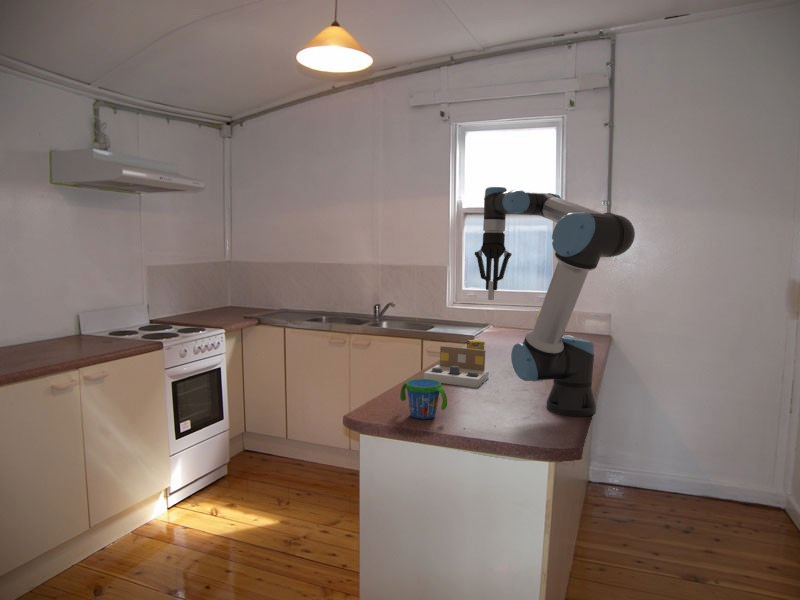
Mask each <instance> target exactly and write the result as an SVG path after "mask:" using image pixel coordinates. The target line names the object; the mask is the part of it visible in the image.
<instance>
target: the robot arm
mask: <svg viewBox="0 0 800 600" xmlns="http://www.w3.org/2000/svg"><path fill="white" fill-rule="evenodd" d="M483 201H484V202H483V205H484V206H483V207H484V208H483V225H482V227H483V229H482V231H484V232H483V234H482V245H481V247H480V249H479V250H478V251H475V252H474V256H475V258H476V260H477V263H478V264H477V265H478V271H479V275H480V278H481V279H482V280H485V290H486V291H488V292H487V293H488V294H487V300H488V301H493V300H495V291H497V290H498V281H501V280H504V277H505V274H506V268H507V265H508V262H509V259H510V258H511V256H512V252H510V251H508V250H507V249H506V248H507V247H506V246H505V239H506V237H505V236H506V235H505V233H504V232H506V221H507V220H506V218H507V217H506V215H526V216H537V217H543V218H545V219H548V220H550V221H552V222H555V223H556V224H555V226H554V229H553V230H552V235H551V239H552V240H553V241H552V242H551V245H552V248H553V250H554V252H555V253H554V256H555V257H554V258H556V260H557V264H556V267H555V269H554V272H553V275H552V278H551V280H550V283H549V286H548V289H547V291H546V293H545V297H544V299H543V302H542V304H541V308H540V309H541V310H540V309H539V310H540V313H539V316H538V318H537V321H536V324H535V323H534V327H533V329H532V330H529V331H528V332H526V334H525V336H524V340H523V342H520V341H519V342H518V343H515V344H514V345H513V347H512V349H511V353H510V354H511V356H510V357H511V358H510V359H511V365H512V367H513V371H514V372H515V374H516V376H517V377H518V378H519V379H520V380H522V381H525V382H537V381H546V380H548V381H549V380H550V381H551V380H553V383H552V387H551V389H550V392H549V394H548V396H547V399H546V409H547V410H548V411H550V412H552V413H555V414H558V413H559V414H558V415H562V414H564V415H563V416H567V415H570V416H569V417H578V416H583V417H590V416H591V417H592V416H594V415H596V414H597V403H596V399H595V396H594V391H593V387H592V386H593V385H592V383H593V372H594V371H593V370H594V361H595V359H594V358H595V347H594V345H595V344H594V343H593V342H592V341H590V340H588V339H585V338H584V339H583V338H577V337H576V338H573V337H567V335H564V334H565V332H566V329H567V328H568V327H567V326H568V324H569V322H570V319H571V317H572V314H573V311H574V309H575V306H576V304H577V301H578V299H579V296H580V293H581V291H582V290H583V289H582V288H583V286H584V284H585V282H586V278H587V276H588V273H589V272H590V271H594V270H596V269H597V267H598V264H599V262H600V260H601V258H610V257H611V258H612V257H614V258H615V257H618V256H620V255H622V254H624V253H626V252H628V250H629V249H631V247H632V245H633V243H634V240H635V238H636V237H635V236H636V232H635V227H634V225H633V224H632V221H630V220H629V219H628V218H627V217H625V216H623V215H620V214H616V213H613V212H604V213H603V212H599V211H596V210H594V209H590V208H588V207H585V206H583V205H579V204H577V203H574V202H572V201H568V200H565V199H563V198H561V196H560V195H559V194H556V193H551V192H548V193H546V192H545V193H544V192H531V191H524V190H522V189H513V190H509V191H507V188H506V187H504V186H488V187H486V188H485V191H484V198H483ZM483 255H484V257H485V258H486V269H485V265H484V261H483V257H482V256H483ZM502 256H503V257H504V258H503V260H502V264H501V268H500V267H499V263H500V258H501V257H502ZM492 261H493V273H492ZM499 268H500V271H499ZM492 274H493V275H492ZM491 277H493V278H491Z"/></svg>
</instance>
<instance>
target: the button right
mask: <svg viewBox="0 0 800 600" xmlns="http://www.w3.org/2000/svg"><path fill="white" fill-rule="evenodd" d="M468 376H469V377H477V376H478V373H477V372H468Z"/></svg>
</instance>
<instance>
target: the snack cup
mask: <svg viewBox="0 0 800 600" xmlns="http://www.w3.org/2000/svg"><path fill="white" fill-rule="evenodd" d="M406 390H407V395H406ZM407 396H408V397H407ZM439 396H441V399H442V402H441V408H440V409H441V411H445V410H446V408H447V407H448V398H447V393H446V390H445V389H444V388H443V387H442V383H440V382H438V381H436V380H430V379H424V378H417V379H414V378H413V379H409V380H408V381H406V382H404V383H403V385H402V387H401V390H400V396H399V399H400V400H401V401H402V402H404V401H406V400H407V399H408V407H409V413H410V416H411V418H415V419H419V420H428V419H434V418H435V417H436V413H437V409H438V404H439Z"/></svg>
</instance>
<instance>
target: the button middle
mask: <svg viewBox="0 0 800 600" xmlns="http://www.w3.org/2000/svg"><path fill="white" fill-rule="evenodd" d="M459 370H460V367H459V366H450V374H453V375H459Z"/></svg>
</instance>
